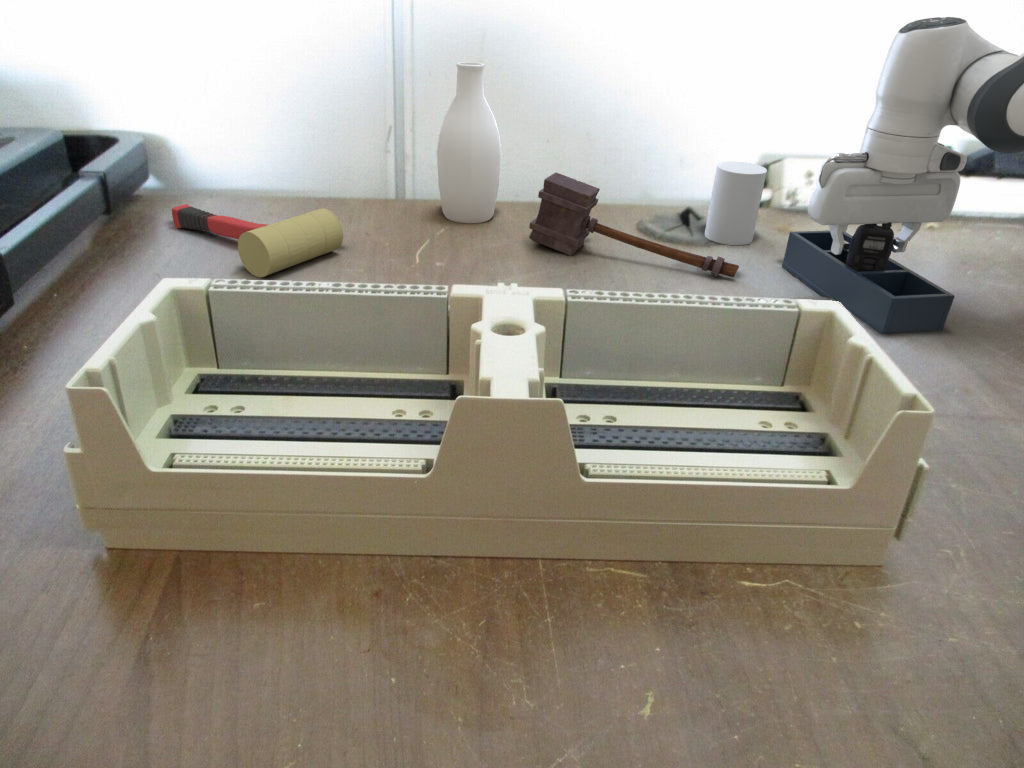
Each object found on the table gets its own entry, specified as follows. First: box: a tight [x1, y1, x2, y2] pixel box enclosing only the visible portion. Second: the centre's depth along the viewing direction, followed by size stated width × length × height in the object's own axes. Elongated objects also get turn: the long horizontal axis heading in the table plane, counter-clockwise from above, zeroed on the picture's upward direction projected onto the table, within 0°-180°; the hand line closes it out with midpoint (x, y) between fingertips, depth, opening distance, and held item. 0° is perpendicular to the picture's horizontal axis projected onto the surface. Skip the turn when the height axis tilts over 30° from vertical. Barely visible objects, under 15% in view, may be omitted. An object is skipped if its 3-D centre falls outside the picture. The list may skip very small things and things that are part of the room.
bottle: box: [436, 61, 502, 224], centre depth 131 cm, size 11×11×25 cm
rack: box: [781, 230, 956, 335], centre depth 110 cm, size 9×26×6 cm, turn 12°
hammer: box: [528, 172, 740, 278], centre depth 119 cm, size 7×33×10 cm, turn 66°
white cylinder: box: [704, 161, 768, 246], centre depth 130 cm, size 8×8×12 cm
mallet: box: [171, 203, 344, 278], centre depth 118 cm, size 14×6×30 cm
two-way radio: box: [845, 222, 895, 272], centre depth 107 cm, size 6×4×15 cm
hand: (867, 252), depth 108 cm, fingers open, 8 cm apart
